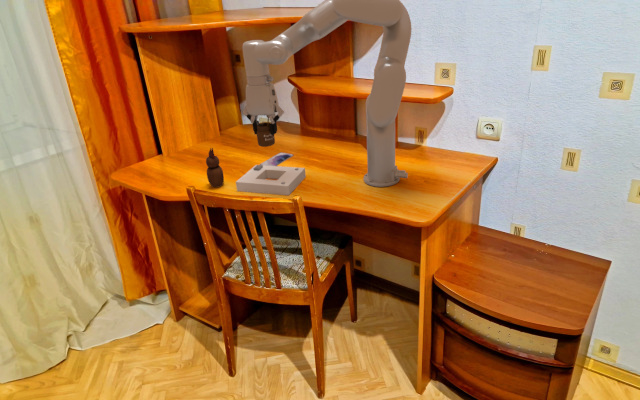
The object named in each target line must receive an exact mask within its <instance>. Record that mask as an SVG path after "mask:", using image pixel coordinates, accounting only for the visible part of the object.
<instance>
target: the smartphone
mask: <svg viewBox="0 0 640 400" xmlns="http://www.w3.org/2000/svg"><path fill="white" fill-rule="evenodd" d="M292 157H294V154H293V153H287V152H282V151H281V152H279V153H277V154H275V155H273V156H272V157H269V158H268V159H267V160H265V161H263V162H261V163H260V164H259V165H266V166H278V165H279V166H280V164H282V163H284V162H285V161H287V160H289V159H290V158H292Z"/></svg>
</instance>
